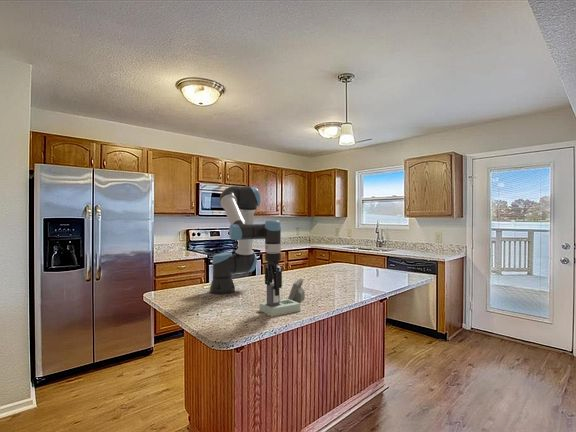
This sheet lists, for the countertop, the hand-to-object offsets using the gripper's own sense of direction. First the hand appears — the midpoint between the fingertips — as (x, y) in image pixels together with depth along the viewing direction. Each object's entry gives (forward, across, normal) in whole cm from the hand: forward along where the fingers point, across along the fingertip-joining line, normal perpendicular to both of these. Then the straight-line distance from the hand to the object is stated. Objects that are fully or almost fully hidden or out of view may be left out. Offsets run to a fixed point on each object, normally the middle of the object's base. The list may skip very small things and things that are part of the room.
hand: (273, 300), depth 155 cm
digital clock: (+5, -13, +22) cm, 26 cm away
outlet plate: (+5, 0, +4) cm, 6 cm away
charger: (+2, 0, 0) cm, 2 cm away
